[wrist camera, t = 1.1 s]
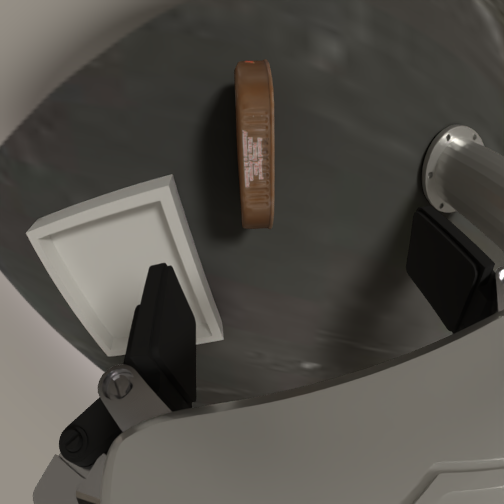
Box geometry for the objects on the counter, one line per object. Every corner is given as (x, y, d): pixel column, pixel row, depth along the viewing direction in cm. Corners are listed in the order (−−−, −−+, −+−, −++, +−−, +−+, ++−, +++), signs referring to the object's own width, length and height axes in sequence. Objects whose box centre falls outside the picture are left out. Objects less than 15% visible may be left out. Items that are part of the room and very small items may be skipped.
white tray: (172, 174, 28) (168, 185, 25) (222, 322, 41) (223, 339, 38) (37, 219, 28) (26, 232, 25) (111, 340, 40) (108, 356, 38)
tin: (264, 204, 31) (281, 247, 25) (234, 206, 31) (243, 250, 24) (261, 62, 23) (282, 56, 16) (227, 63, 23) (234, 56, 16)
